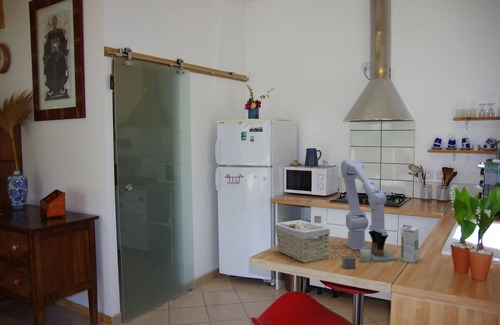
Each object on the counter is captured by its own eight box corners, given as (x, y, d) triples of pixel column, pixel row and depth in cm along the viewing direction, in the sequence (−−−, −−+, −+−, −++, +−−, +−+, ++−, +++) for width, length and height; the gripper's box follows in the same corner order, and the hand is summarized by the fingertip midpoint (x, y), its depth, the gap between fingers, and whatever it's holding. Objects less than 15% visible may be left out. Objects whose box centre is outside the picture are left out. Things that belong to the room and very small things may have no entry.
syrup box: (405, 258, 177) (404, 226, 177) (419, 260, 174) (418, 227, 173) (401, 261, 173) (400, 228, 173) (415, 263, 169) (414, 229, 169)
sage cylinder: (359, 260, 177) (358, 249, 176) (368, 259, 177) (368, 248, 177) (362, 263, 172) (362, 251, 172) (372, 262, 173) (372, 251, 172)
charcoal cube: (342, 266, 169) (342, 255, 169) (352, 265, 169) (352, 255, 169) (344, 269, 164) (344, 258, 164) (355, 268, 164) (355, 258, 164)
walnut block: (371, 253, 183) (371, 242, 183) (380, 252, 183) (379, 242, 184) (375, 255, 179) (374, 244, 179) (383, 254, 180) (383, 243, 180)
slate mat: (358, 251, 191) (358, 249, 191) (380, 250, 192) (380, 248, 192) (374, 262, 173) (374, 259, 173) (398, 260, 174) (398, 258, 174)
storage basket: (332, 259, 180) (331, 226, 179) (302, 264, 172) (302, 231, 172) (301, 247, 201) (301, 219, 201) (274, 252, 194) (273, 222, 193)
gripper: (363, 216, 188) (363, 244, 188) (375, 221, 173) (376, 252, 174) (377, 215, 188) (378, 243, 189) (391, 221, 174) (391, 251, 174)
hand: (378, 247), depth 181 cm, fingers open, 5 cm apart
